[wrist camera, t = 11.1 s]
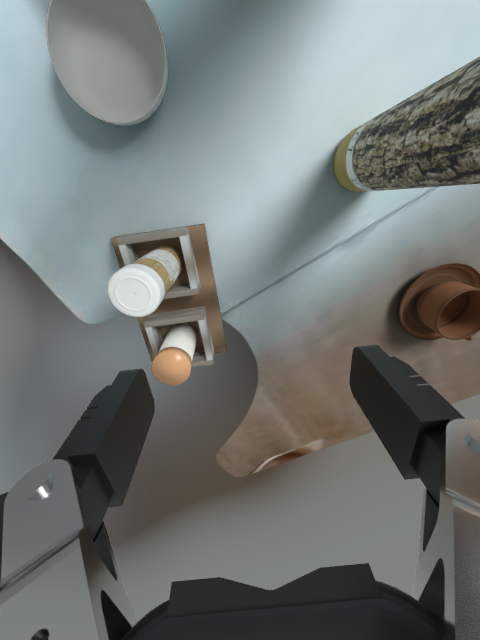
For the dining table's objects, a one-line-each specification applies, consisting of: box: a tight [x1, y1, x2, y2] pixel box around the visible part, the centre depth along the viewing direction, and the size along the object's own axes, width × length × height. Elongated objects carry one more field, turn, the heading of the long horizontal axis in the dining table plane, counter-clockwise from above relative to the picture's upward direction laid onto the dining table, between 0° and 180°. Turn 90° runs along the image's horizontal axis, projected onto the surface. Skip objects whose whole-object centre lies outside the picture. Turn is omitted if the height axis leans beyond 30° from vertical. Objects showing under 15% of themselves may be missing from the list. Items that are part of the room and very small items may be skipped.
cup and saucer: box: [399, 263, 480, 341], centre depth 37 cm, size 12×12×6 cm
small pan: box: [46, 0, 168, 126], centre depth 24 cm, size 11×18×4 cm, turn 29°
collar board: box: [111, 224, 227, 367], centre depth 36 cm, size 19×12×4 cm, turn 8°
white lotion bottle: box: [151, 322, 198, 385], centre depth 35 cm, size 5×5×9 cm
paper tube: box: [334, 57, 480, 192], centre depth 20 cm, size 7×7×25 cm
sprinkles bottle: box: [108, 245, 184, 317], centre depth 28 cm, size 5×5×13 cm
